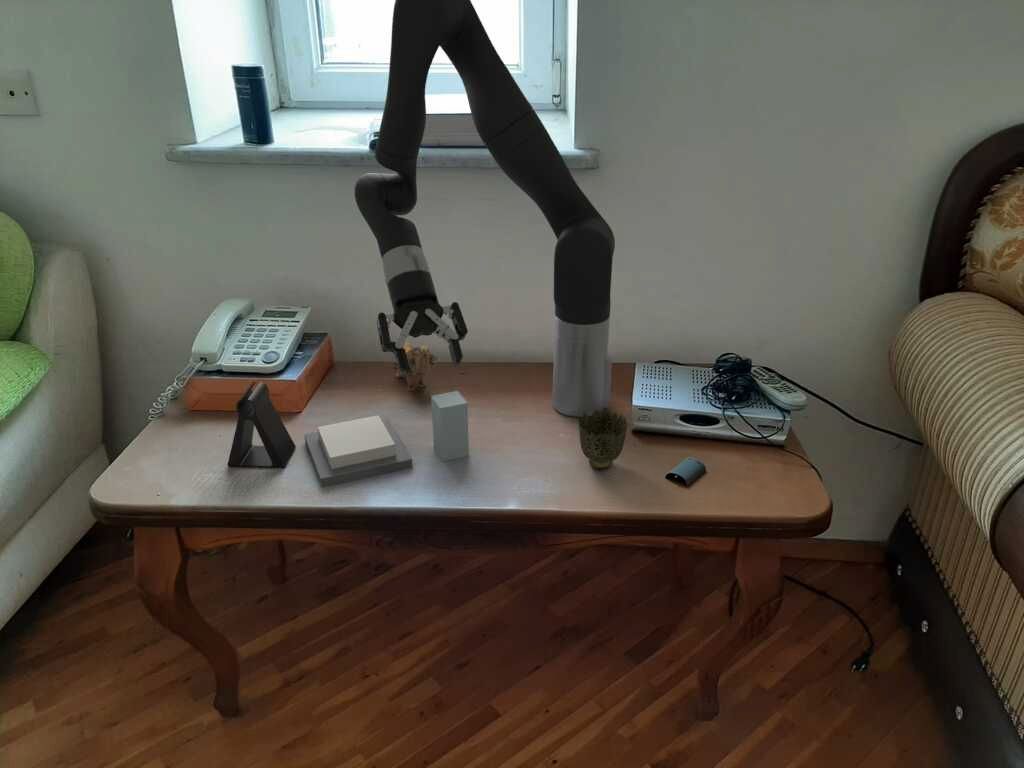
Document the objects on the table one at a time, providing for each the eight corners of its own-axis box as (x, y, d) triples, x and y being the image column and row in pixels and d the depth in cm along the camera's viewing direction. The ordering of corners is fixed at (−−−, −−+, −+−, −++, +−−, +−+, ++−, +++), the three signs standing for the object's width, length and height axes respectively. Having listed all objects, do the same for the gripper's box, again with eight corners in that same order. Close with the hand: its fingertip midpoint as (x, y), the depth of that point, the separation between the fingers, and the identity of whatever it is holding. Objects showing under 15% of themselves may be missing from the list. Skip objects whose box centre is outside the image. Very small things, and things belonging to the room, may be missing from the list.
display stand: (388, 425, 133) (387, 407, 131) (412, 467, 121) (411, 447, 120) (305, 442, 128) (302, 423, 126) (321, 487, 117) (319, 467, 115)
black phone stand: (296, 448, 126) (286, 381, 121) (285, 468, 121) (274, 400, 116) (241, 447, 127) (229, 380, 121) (227, 467, 121) (214, 398, 116)
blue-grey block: (459, 442, 128) (457, 390, 124) (468, 455, 125) (467, 402, 120) (433, 448, 127) (431, 395, 122) (442, 461, 123) (440, 408, 119)
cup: (593, 483, 117) (595, 437, 114) (567, 460, 123) (569, 415, 120) (634, 471, 121) (637, 425, 117) (607, 448, 126) (610, 405, 123)
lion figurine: (442, 391, 144) (440, 347, 140) (416, 399, 142) (414, 354, 138) (406, 363, 155) (403, 321, 151) (381, 370, 153) (378, 327, 149)
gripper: (369, 273, 125) (393, 367, 121) (453, 263, 130) (479, 352, 126) (364, 294, 132) (386, 383, 128) (444, 283, 137) (468, 369, 133)
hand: (432, 368), depth 127 cm, fingers open, 8 cm apart
